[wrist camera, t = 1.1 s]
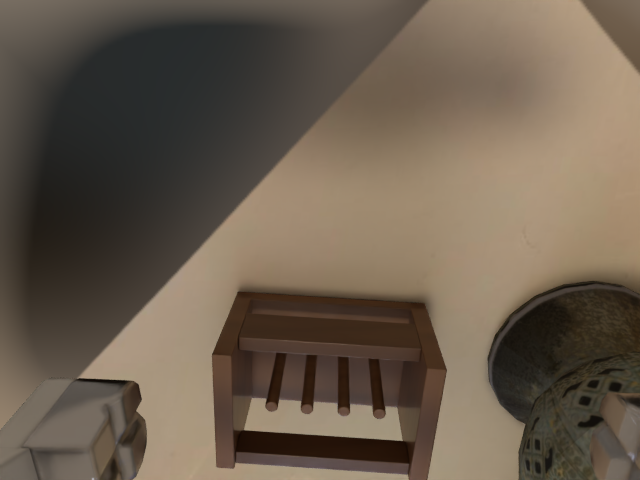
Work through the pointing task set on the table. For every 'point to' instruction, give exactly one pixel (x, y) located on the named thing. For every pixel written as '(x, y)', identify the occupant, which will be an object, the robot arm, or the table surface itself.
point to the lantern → (565, 372)
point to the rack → (328, 379)
